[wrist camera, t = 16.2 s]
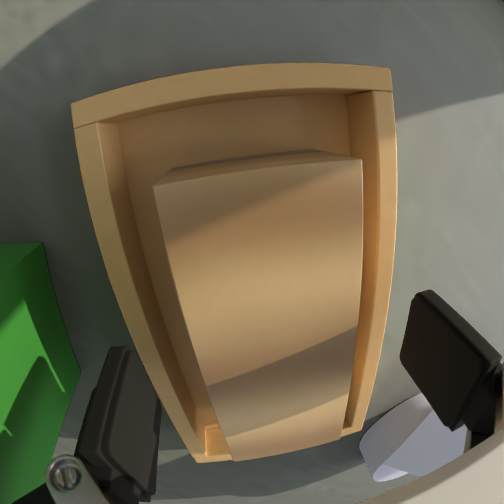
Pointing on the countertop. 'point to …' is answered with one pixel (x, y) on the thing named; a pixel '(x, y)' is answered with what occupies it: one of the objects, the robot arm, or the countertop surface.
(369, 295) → the holder
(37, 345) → the hardback book
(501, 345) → the countertop surface
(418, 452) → the wedge on round base
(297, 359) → the eraser
